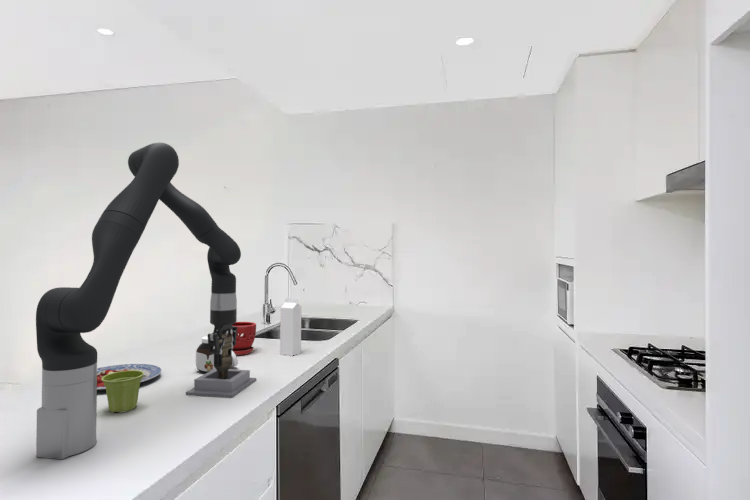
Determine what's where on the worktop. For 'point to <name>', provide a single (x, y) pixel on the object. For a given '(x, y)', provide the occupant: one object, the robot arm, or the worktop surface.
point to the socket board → (221, 384)
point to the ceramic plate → (148, 370)
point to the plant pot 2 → (244, 337)
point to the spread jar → (208, 357)
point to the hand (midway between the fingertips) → (222, 363)
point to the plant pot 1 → (122, 389)
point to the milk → (290, 328)
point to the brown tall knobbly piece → (225, 357)
